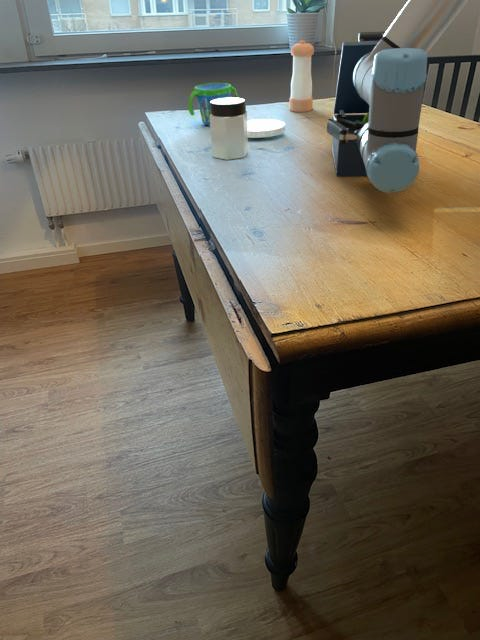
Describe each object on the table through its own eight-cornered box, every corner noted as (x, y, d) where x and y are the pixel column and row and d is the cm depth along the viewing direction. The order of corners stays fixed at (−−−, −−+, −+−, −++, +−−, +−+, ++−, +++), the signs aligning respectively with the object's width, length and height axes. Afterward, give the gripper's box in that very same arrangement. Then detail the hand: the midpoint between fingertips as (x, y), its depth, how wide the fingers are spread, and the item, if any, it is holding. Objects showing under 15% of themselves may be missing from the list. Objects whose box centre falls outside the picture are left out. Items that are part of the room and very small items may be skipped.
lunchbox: (400, 175, 102) (405, 135, 98) (336, 176, 103) (339, 136, 99) (386, 148, 118) (390, 113, 114) (331, 149, 120) (333, 114, 115)
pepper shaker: (310, 106, 161) (312, 38, 151) (314, 111, 155) (317, 40, 144) (287, 107, 161) (288, 39, 150) (291, 112, 155) (292, 42, 144)
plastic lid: (275, 126, 141) (275, 117, 140) (292, 138, 130) (292, 128, 128) (227, 131, 138) (227, 122, 137) (240, 144, 127) (240, 133, 126)
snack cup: (197, 131, 140) (193, 91, 135) (184, 123, 148) (180, 86, 143) (247, 123, 146) (245, 85, 140) (231, 116, 154) (230, 80, 148)
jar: (242, 148, 124) (240, 95, 117) (253, 156, 118) (252, 101, 111) (207, 152, 122) (203, 99, 115) (217, 161, 115) (213, 106, 109)
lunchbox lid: (412, 43, 94) (411, 19, 95) (342, 45, 95) (342, 22, 96) (390, 113, 114) (390, 92, 115) (333, 114, 115) (333, 93, 116)
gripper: (314, 166, 91) (312, 135, 109) (444, 165, 88) (419, 133, 107) (316, 123, 87) (313, 98, 105) (452, 120, 84) (425, 95, 102)
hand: (367, 116), depth 106 cm, fingers open, 10 cm apart
